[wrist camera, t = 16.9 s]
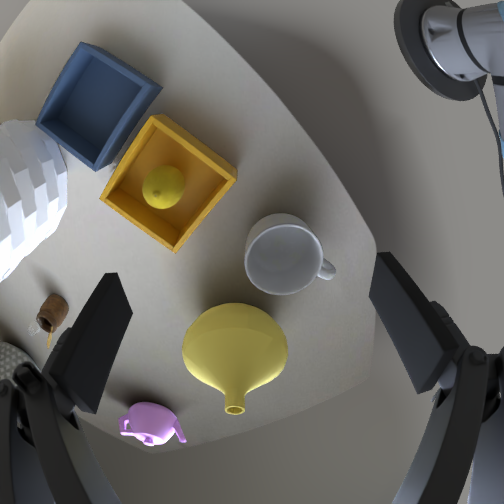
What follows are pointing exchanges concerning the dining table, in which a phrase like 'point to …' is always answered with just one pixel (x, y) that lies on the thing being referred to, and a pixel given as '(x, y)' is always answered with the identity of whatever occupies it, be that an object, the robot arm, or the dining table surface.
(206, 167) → the yellow bin
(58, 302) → the utensil holder
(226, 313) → the vase
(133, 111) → the blue bin
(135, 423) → the teapot
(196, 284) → the dining table surface
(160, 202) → the lemon
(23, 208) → the white brick well
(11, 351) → the planter
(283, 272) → the teacup
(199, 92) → the dining table surface
